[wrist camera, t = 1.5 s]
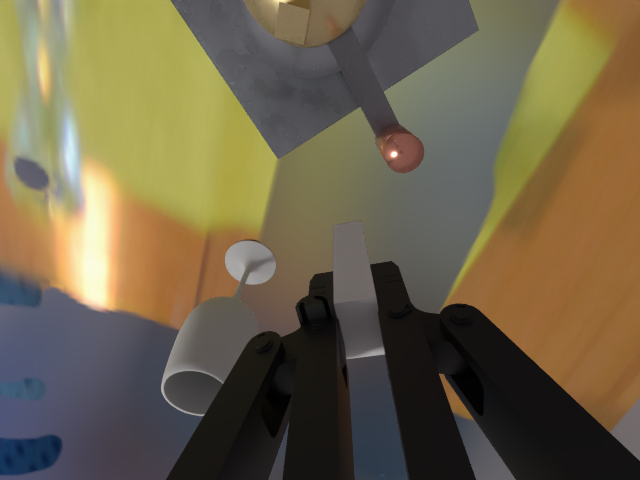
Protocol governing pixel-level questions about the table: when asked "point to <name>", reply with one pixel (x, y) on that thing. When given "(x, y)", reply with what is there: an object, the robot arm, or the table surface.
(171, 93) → the table surface
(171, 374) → the wineglass
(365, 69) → the tan handled round piece
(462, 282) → the table surface
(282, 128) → the housing
